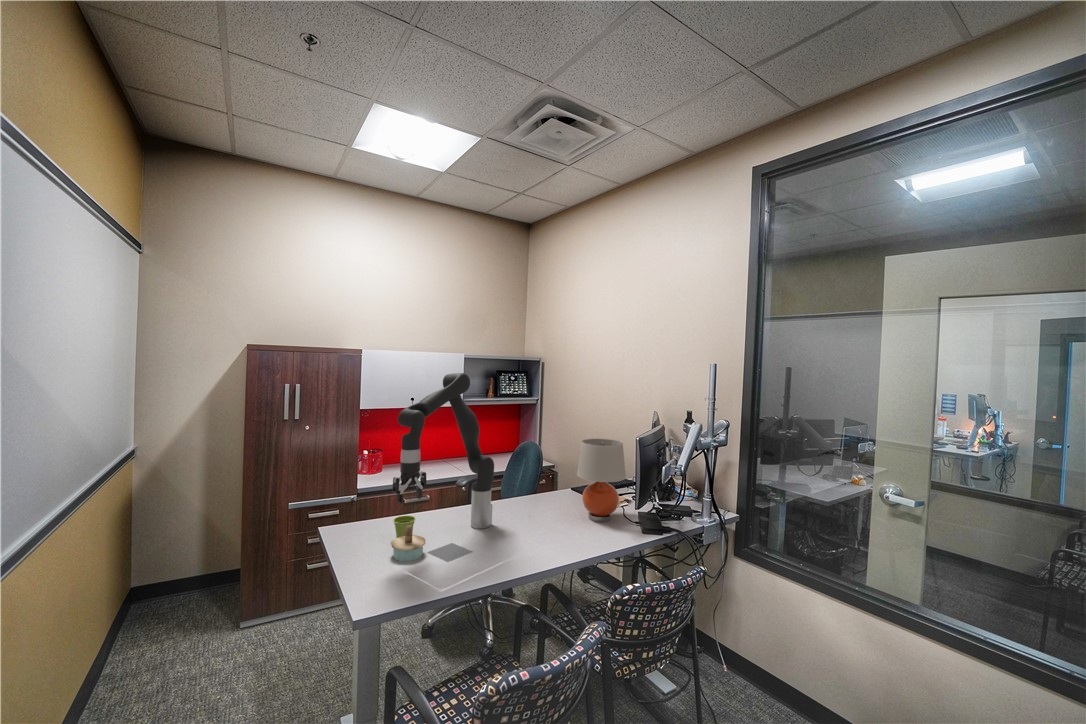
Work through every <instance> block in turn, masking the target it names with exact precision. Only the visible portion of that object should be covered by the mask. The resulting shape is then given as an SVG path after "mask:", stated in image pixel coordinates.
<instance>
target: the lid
mask: <svg viewBox="0 0 1086 724" xmlns="http://www.w3.org/2000/svg"><path fill="white" fill-rule="evenodd" d="M413 529H414V525H413V526H411V525H408V526H406V527H405V536H402V537H399V538H397V537H395V538H394V539H393V540H392V541H391V544H390V545H391V547H392V549H393V548H394V549H397V550H414V549H418V548H420V547H422V546H423V547H424V546H425V544H426V538H425V537H422V536H420V535H414V534H413V531H414V530H413Z"/></svg>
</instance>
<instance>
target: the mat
mask: <svg viewBox="0 0 1086 724" xmlns="http://www.w3.org/2000/svg"><path fill="white" fill-rule="evenodd" d="M473 552H474V551H473V550H471V549H468V548H465V547H464V546H461V545H459V544H456V543H453V542H451V543H448V544H445V545H443V546H441V547H438V548H437V547H436V548H434V549H432V550H429V551H427V554H429V555H432V556H433V557H435V558H438V559H439V560H442V561H444V562H446V563H449V562H451V561H454V560H456V559H459V558H461V557H464V556H465V555H466V556H467V555H470V554H471V553H473Z"/></svg>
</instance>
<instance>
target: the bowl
mask: <svg viewBox="0 0 1086 724" xmlns="http://www.w3.org/2000/svg"><path fill="white" fill-rule="evenodd" d="M392 551H393V552H392V553H393V554H392V555H393V558H394V559H395V560H396V561H400V562H410V561H415V560H418V559H420V558H422V557H423V553H424V552H423V551H424V546H422V547H420V548H418V549H414V550H397V549H394V548H392Z"/></svg>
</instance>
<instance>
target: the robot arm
mask: <svg viewBox="0 0 1086 724" xmlns="http://www.w3.org/2000/svg"><path fill="white" fill-rule="evenodd" d="M442 387H443V388H440V389H439V390H436V391H433V392H432V393H429V394H428V395H427V396H425V397H423V398H422V399H421V400H420V401H419V402H416V403H414V404H411V405H408V406H407V407H405V408H404V409H403V408H402V410H401V411H400V412H399V414H398V417H397V423H398V424H399V425H400V426H402V427H404V428H409V429H410V430H409V432H407V433H404V434H402V436H401V451H400V469H399V470H400V477H399V476H398V477H397V476H394V477H393V478H392V489H391V490H392V491H391V492H392V493H394V494H396V502H397V503H398V504H399V505H402V504H403V502H404V501H403V500H404V495H403V493H404V491H405V490H407V488H408V487H411V486H415V487H416V489H415V490H416V495H415V497H416V498H417V499H418V500H419V499H422V497H423V489H424V488H425V487H426V488H427V472H426V471H422V470H421V436H422V433H423V429H424V426H425V423H426V418H427V417H429V416H431V415H432V414H433V413H434V412H436V411H437V410H439V409H440V408H441V407H442V406H444V405H445V404H447V403H448V402H449V404H450V407H451V409H452V411H453V415H454V417H455V420H456V423H457V427H458V430H459V433H460V435H461V436H460V437H461V439H462V442H463V447H464V448H465V453H466V458H467V463H468V466H469V469H470V471H471V472H472V473H474V474H475V475H477V478H476V479H477V480H476V481H474V482H473V483H472V484H471V500H470V501H471V503H470V504H471V506H470V507H471V508H470V526H471V528H474V529H479V530H481V529H487V528H489V527H491V525H492V524H493V504H492V486H493V483H494V477H495V476H494V475H495V474H494V473H495V462H494V460H493V458H492V457H490V456H487V455H484V454H483V453H482V450H481V448H480V445H479V444H480V443H479V439H480V438H479V437H480V431H481V430H480V425H479V421H478V419H477V416H476V414H475V412H474V411H473V410H472V408H470V407H469V406H468V405H467V404H466V403H465V401H464V400H463V398H462V394H464V393H466V392H468V390H469V389H470V387H471V379H470V377H469V376H468V374H466V373H464V372H457V373H456V372H455V373H448V374H445V375H444V377H443V378H442ZM419 479H420V480H419Z"/></svg>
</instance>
